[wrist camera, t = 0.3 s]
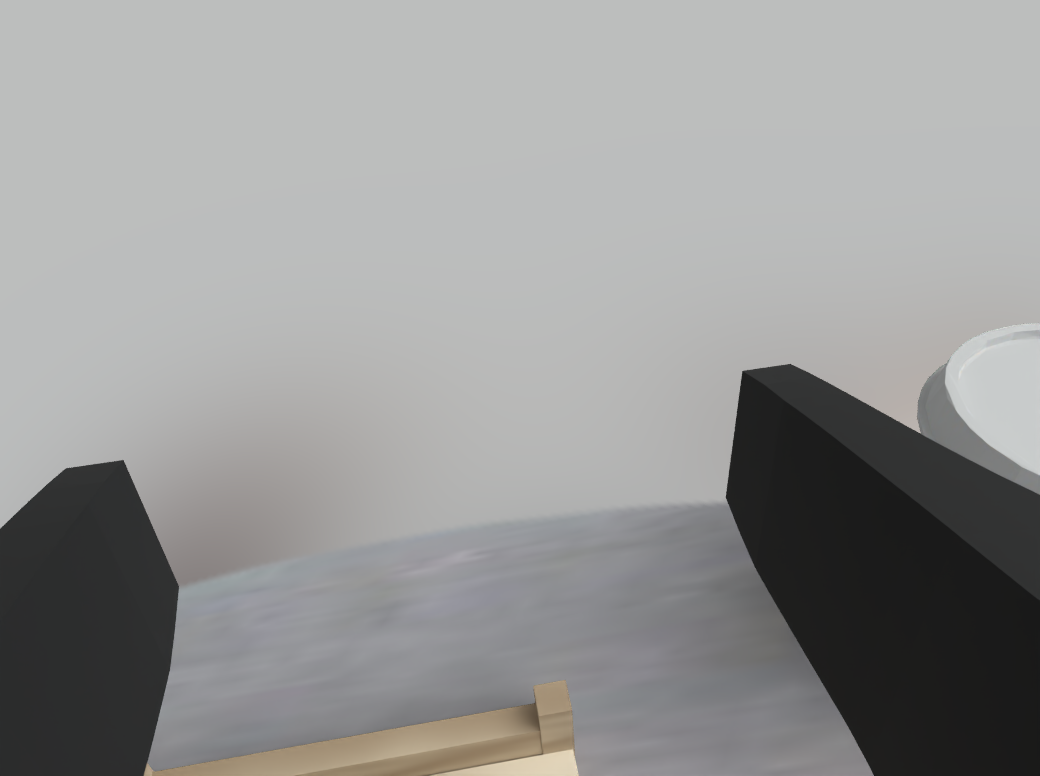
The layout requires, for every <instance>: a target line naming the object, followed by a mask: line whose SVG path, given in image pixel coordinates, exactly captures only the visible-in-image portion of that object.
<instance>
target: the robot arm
mask: <svg viewBox="0 0 1040 776" xmlns="http://www.w3.org/2000/svg"><path fill="white" fill-rule="evenodd" d="M726 499H727V501H728V504H729V506H730V509H731V511H732V514H733V516H734V519H735V521H736V524H737V526H738V529H739V531H740V534H741V536H742V539H743V541H744V543H745V545H746V548H747V550H748V552H749V555H750V557H751V559H752V561H753V564H754V566H755V568H756V570H757V572H758V573H759V575H760V577H761V579H762V581H763V582H764V584H765V586H766V588H767V589H768V591H769V593H770V594H771V596H772V598H773V600H774V601H775V603H776V605H777V607H778V608H779V610H780V612H781V613H782V615H783V617H784V619H785V620H786V622H787V624H788V626H789V627H790V629H791V631H792V632H793V634H794V636H795V637H796V639H797V641H798V642H799V644H800V646H801V648H802V649H803V651H804V653H805V654H806V656H807V658H808V659H809V661H810V663H811V664H812V666H813V668H814V670H815V671H816V673H817V675H818V676H819V678H820V680H821V681H822V683H823V685H824V686H825V688H826V690H827V692H828V693H829V695H830V697H831V698H832V700H833V702H834V703H835V705H836V707H837V708H838V710H839V712H840V714H841V715H842V717H843V719H844V720H845V722H846V724H847V725H848V727H849V729H850V731H851V733H852V734H853V736H854V738H855V740H856V742H857V744H858V746H859V748H860V749H861V751H862V753H863V755H864V757H865V759H866V761H867V762H868V764H869V766H870V768H871V770H872V772H873V775H874V776H1040V494H1037V493H1035V492H1033V491H1031V490H1029V489H1027V488H1025V487H1023V486H1021V485H1019V484H1017V483H1015V482H1013V481H1011V480H1008V479H1006V478H1004V477H1002V476H1000V475H998V474H996V473H994V472H992V471H990V470H988V469H986V468H985V467H983V466H981V465H979V464H977V463H975V462H973V461H971V460H969V459H967V458H965V457H963V456H961V455H959V454H957V453H956V452H954V451H952V450H950V449H948V448H946V447H944V446H942V445H940V444H939V443H937V442H935V441H933V440H931V439H929V438H927V437H926V436H924V435H922V434H920V433H918V432H916V431H915V430H912V429H911V428H909V427H907V426H905V425H903V424H902V423H900V422H898V421H896V420H894V419H893V418H891V417H889V416H887V415H886V414H884V413H882V412H880V411H878V410H876V409H875V408H873V407H871V406H869V405H867V404H866V403H864V402H862V401H860V400H858V399H856V398H855V397H853V396H851V395H849V394H848V393H846V392H844V391H842V390H840V389H838V388H836V387H835V386H833V385H831V384H829V383H827V382H825V381H823V380H822V379H820V378H818V377H816V376H814V375H812V374H810V373H808V372H806V371H804V370H802V369H800V368H798V367H795V366H793V365H791V364H788V365H781V366H774V367H767V368H760V369H753V370H747V371H742V379H741V386H740V394H739V401H738V409H737V417H736V424H735V432H734V440H733V447H732V455H731V462H730V469H729V477H728V484H727V492H726ZM178 590H179V586H178V583H177V581H176V579H175V577H174V574H173V572H172V570H171V567H170V565H169V563H168V561H167V559H166V556H165V554H164V552H163V549H162V547H161V545H160V542H159V540H158V538H157V536H156V533H155V531H154V529H153V527H152V524H151V522H150V520H149V517H148V515H147V513H146V511H145V508H144V506H143V504H142V502H141V499H140V497H139V495H138V492H137V490H136V488H135V486H134V483H133V481H132V479H131V476H130V474H129V472H128V470H127V467H126V465H125V463H124V460H121V461H114V462H107V463H101V464H94V465H87V466H80V467H73V468H66V469H65V470H64V471H62V472H61V473H60V474H59V475H58V476H56V477H55V478H54V479H53V480H52V481H51V482H49V483H48V484H47V485H46V486H45V487H44V488H43V489H42V490H41V491H40V492H38V493H37V494H36V495H35V496H34V497H33V498H32V499H31V500H30V501H29V502H28V503H27V504H26V505H25V506H24V507H23V508H21V509H20V510H19V511H18V512H17V513H16V514H15V515H14V516H13V517H12V518H11V519H10V520H9V521H8V522H7V523H6V524H5V525H4V526H3V527H2V528H1V529H0V776H144V773H145V769H146V765H147V761H148V757H149V753H150V749H151V745H152V741H153V737H154V733H155V729H156V725H157V721H158V717H159V713H160V709H161V705H162V701H163V697H164V692H165V688H166V684H167V680H168V675H169V671H170V664H171V656H172V648H173V640H174V632H175V622H176V611H177V601H178Z"/></svg>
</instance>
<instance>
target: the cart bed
mask: <svg viewBox="0 0 1040 776" xmlns="http://www.w3.org/2000/svg"><path fill="white" fill-rule="evenodd" d="M533 687H534V696H535V703H534V704H528V705H523V706H517V707H511V708H506V709H500V710H495V711H489V712H484V713H478V714H473V715H467V716H461V717H456V718H450V719H445V720H439V721H434V722H428V723H423V724H417V725H411V726H406V727H400V728H395V729H389V730H384V731H378V732H372V733H367V734H361V735H356V736H350V737H345V738H339V739H334V740H328V741H322V742H317V743H311V744H306V745H300V746H295V747H289V748H284V749H278V750H272V751H267V752H261V753H256V754H250V755H245V756H239V757H234V758H228V759H222V760H217V761H211V762H206V763H200V764H195V765H189V766H184V767H178V768H172V769H167V770H161V771H156V772H154V771H153V770H152V769H151V767H150V766H149V765H148V763H147V765H146V769H145V773H144V776H579V775H578V771H577V766H576V761H575V749H574V734H573V718H572V708H571V703H570V699H569V694H568V689H567V685H566V680H563V681H557V682H552V683H546V684H540V685H535V686H533Z"/></svg>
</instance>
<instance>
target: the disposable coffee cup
mask: <svg viewBox="0 0 1040 776" xmlns="http://www.w3.org/2000/svg"><path fill="white" fill-rule="evenodd" d="M917 419H918V423H919V427H920V431H921V434H922V435H924V436H926V437H927V438H929V439H931V440H933V441H935V442H937V443H939V444H940V445H942V446H944V447H946V448H948V449H950V450H952V451H954V452H956V453H957V454H959V455H961V456H963V457H965V458H967V459H969V460H971V461H973V462H975V463H977V464H979V465H981V466H983V467H985V468H986V469H988V470H990V471H992V472H994V473H996V474H998V475H1000V476H1002V477H1004V478H1006V479H1008V480H1011V481H1013V482H1015V483H1017V484H1019V485H1021V486H1023V487H1025V488H1027V489H1029V490H1031V491H1033V492H1035V493H1037V494H1040V323H1036V324H1021V325H1014V326H1008V327H1004V328H999V329H995V330H991V331H987V332H985V333H983V334H981V335H978V336H976V337H974V338H972V339H970V340H968V341H967V342H966V343H964V344H963V345H961V346H960V347H959V348H958V349H957V350H956V352H955V353H954V354H953V355H952V356H951V357H950V359H949V360H948V362H947V363H946V364H945V365H943V366H941V367H940V368H939V369H938V370H936V372H934V373H933V374H932V375H931V376H930V377H929V378H928V380H927V381H926V383H925V385H924V386H923V388H922V390H921V393H920V397H919V400H918V413H917Z"/></svg>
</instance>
